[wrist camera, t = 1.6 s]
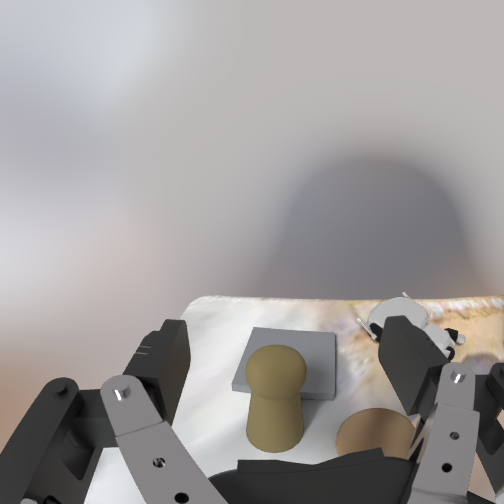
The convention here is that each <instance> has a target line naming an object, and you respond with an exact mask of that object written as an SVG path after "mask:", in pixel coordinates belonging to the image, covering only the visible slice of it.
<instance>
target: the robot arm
mask: <svg viewBox="0 0 504 504" xmlns="http://www.w3.org/2000/svg"><path fill="white" fill-rule="evenodd" d="M378 357H379V361H380V364H381V365H382V367H383V369H384V371H385V373H386V375H387V377H388V378H389V380H390V382H391V384H392V386H393V388H394V390H395V392H396V394H397V396H398V398H399V399H400V401H401V403H402V405H403V407H404V409H405V411H406V413H407V415H408V416H409V415H414V414H418V413H419V414H420V418H419V420H418V423H417V425H416V428H415V431H414V434H413V436H412V439H411V442H410V445H409V447H408V450H407V452H406V455H405V457H404V459H403V458H398V457H392V456H384V453H383V450H382V448H381V447H379V448H375V449H369V450H364V451H358V452H352V453H348V454H345V455H342V456H340V457H337V458H334V459H331V460H328V461H325V462H322V463H319V464H315V465H309V464H301V463H293V462H286V461H280V460H238V466H237V469H234V470H229V471H225V472H221V473H219V474H216V475H213V476H211V477H209V478H207V477H206V476H205V475H204V473H203V472H202V471H201V469H200V468H199V467H198V465H197V464H196V463H195V461H194V460H193V459H192V457H191V456H190V454H189V453H188V452H187V450H186V449H185V447H184V446H183V444H182V443H181V441H180V440H179V438H178V437H177V436H176V434H175V432H174V431H173V429H172V428H171V426H172V423H173V420H174V416H175V413H176V410H177V406H178V403H179V400H180V397H181V393H182V390H183V387H184V384H185V380H186V377H187V374H188V371H189V367H190V361H191V354H190V346H189V339H188V332H187V325H186V322H185V320H171V319H166V320H165V322H164V323H163V325H162V327H161V329H160V331H152V332H151V333H149V334H148V335H147V336H146V337H144V339H143V340H142V342H141V344H140V347H138V349H137V350H136V354H134V355H133V357H132V359H131V360H130V362H129V364H128V366H127V367H126V369H125V371H124V372H123V374H122V375H118V376H114V377H112V378H110V379H108V380H107V381H106V382H104V384H103V385H102V387H101V389H95V390H79V387H78V385H77V383H76V382H75V381H74V380H72V379H70V378H57V379H54V380H52V381H50V382H48V383H47V384H46V385H45V386H44V388H43V389H42V391H41V392H40V394H39V395H38V396H37V398H36V399H35V401H34V402H33V404H32V405H31V407H30V408H29V409H28V411H27V413H26V414H25V416H24V417H23V419H22V420H21V422H20V423H19V425H18V426H17V428H16V429H15V431H14V433H13V434H12V436H11V437H10V439H9V441H8V442H7V444H6V446H5V448H4V449H3V451H2V452H1V454H0V504H84V501H85V498H86V495H87V492H88V489H89V486H90V483H91V480H92V478H93V475H94V472H95V469H96V466H97V464H98V461H99V458H100V456H101V453H102V450H103V448H109V447H119V449H120V451H121V453H122V455H123V458H124V460H125V462H126V464H127V466H128V469H129V471H130V473H131V475H132V477H133V479H134V481H135V483H136V485H137V487H138V489H139V491H140V492H141V494H142V496H143V498H144V500H145V502H146V503H147V504H504V429H503V428H502V426H501V425H500V423H499V421H498V420H497V417H498V415H499V414H500V412H501V410H502V409H503V410H504V363H496V364H494V365H493V366H492V368H491V370H490V372H489V374H488V375H475V373H474V372H473V370H472V369H471V368H470V367H468V366H467V365H465V364H462V363H458V362H450V361H449V360H448V358H447V357H446V356H445V355H444V354H443V352H442V351H441V350H440V349H439V348H438V346H437V345H435V343H434V342H433V340H431V338H430V337H429V336H428V335H427V333H426V332H425V331H423V330H422V329H420V328H419V327H417V326H414V325H413V324H412V323H411V322H410V321H409V319H408V318H407V317H406V316H405V315H400V316H389V317H387V318H386V320H385V323H384V327H383V332H382V336H381V340H380V344H379V349H378ZM475 451H476V453H477V455H478V457H479V459H480V461H481V463H482V465H483V467H484V469H485V471H486V473H487V476H488V478H489V480H490V483H491V485H492V487H493V489H494V492H495V494H496V496H495V503H493V502H491V501H489V500H487V499H484V498H482V497H480V496H478V495H476V494H474V493H471V492H469V491H467V489H468V486H469V481H470V477H471V472H472V467H473V462H474V456H475Z"/></svg>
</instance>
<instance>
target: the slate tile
mask: <svg viewBox="0 0 504 504" xmlns="http://www.w3.org/2000/svg"><path fill="white" fill-rule="evenodd" d="M275 344H277V345H285V346H289V347H292V348H293V349H295V350H297V351H298V352H299V353H300V354H301V356H302V357H303V358H304V360H305V363H306V366H307V374H306V381H305V383H304V385H303V386H302V388H301V389H300V397H301V399H316V400H333V399H334V395H335V333H333V332H313V331H297V330H283V329H270V328H259V327H253V330H252V333H251V335H250V338H249V341H248V343H247V346H246V348H245V351H244V354H243V356H242V359H241V361H240V364H239V366H238V369H237V371H236V374H235V377H234V379H233V382H232V391H239V392H246V393H251V392H252V391H251V389H250V387H249V386H248V384H247V382H246V376H245V367H246V364H247V361H248V359H249V357H250V356H251V355H252V354H253V353H254V352H255V351H256V350H258V349H259V348H261V347H264V346H268V345H275Z"/></svg>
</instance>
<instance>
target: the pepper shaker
mask: <svg viewBox="0 0 504 504" xmlns="http://www.w3.org/2000/svg"><path fill="white" fill-rule="evenodd" d="M306 374H307V366H306V363H305V360H304V358H303V357H302V356H301V354H300V353H299V352H298V351H297V350H295V349H293V348H292V347H289V346H285V345H277V344H275V345H268V346H264V347H261V348H259V349H258V350H256V351H255V352H254V353H253V354H252V355H251V356H250V357H249V359H248V361H247V364H246V367H245V376H246V382H247V384H248V386H249V387H250V389H251V391H252V392H251V399H250V406H249V413H248V420H247V427H246V433H247V438H248V439H249V441H250V443H251V444H252V445H253V446H255V447H256V448H257V449H260V450H262V451H264V452H270V453H278V452H284V451H287V450H289V449H292V448H293V447H294V446H296V445H297V444H298V443H299V442H300V440H301V438H302V437H303V431H304V427H303V417H302V407H301V397H300V389H301V388H302V386H303V385H304V383H305V381H306Z"/></svg>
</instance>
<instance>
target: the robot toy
mask: <svg viewBox="0 0 504 504" xmlns="http://www.w3.org/2000/svg"><path fill="white" fill-rule="evenodd" d="M403 295H404V296H405V297H406V298H404V297H398V298H393V299H390V300H387V301H384V302H382V303H380V304H378V305H377V306H376V307H375V308H373V310H372V311H371V312H370V313H369V317H368V321H367V325H366V326H365V324H364V323H363V322H362V320H361V319H360V318H357V321H358V322H359V323H360V324H361V325H362V326H363V327H364V328H365V329H366V330H367V331H368V334H369V336H370V337H372V339H373V340H376V341H377V342H379V343H380V340H381V336H382V332H383V327H384V323H385V320H386V318H387V317H389V316H400V315H405V316H406V317H407V318H408V319H409V321H410V322H411V323H412V324H413V325H414V326H417V327H419V328H420V329H422V330H423V331H425V332H426V333H427V335H428V336H429V337H430V338H431V340H433V342H434V343H435V345H437V346H438V348H439V349H440V350H441V351H442V352H443V354H444V355H445V356H446V357H447V358H448V360H449V361H451V360H452V359H453V358H454V355H455V351H454V348H455V342H457V343H459V344H464V343H465V336H464V335H462V334H459V335H458V331H457V330H453V329H450V328H447V329H442V328H440V327H438V326H436V325H434V324H432V323H429V324H427V322H428V318H429V317H428V313H427V311H426V309H425V308H424V307H423V306H421V305H419V304H418V303H416V302H414V301H412V300H411V299H410V298H409V297H408V296H407V294H406V293H404V292H403Z"/></svg>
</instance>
